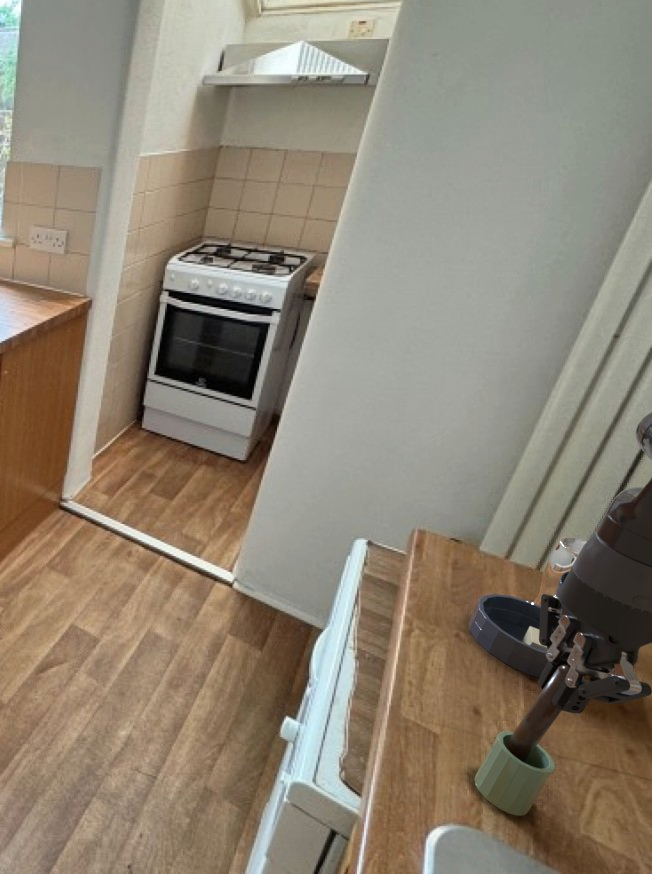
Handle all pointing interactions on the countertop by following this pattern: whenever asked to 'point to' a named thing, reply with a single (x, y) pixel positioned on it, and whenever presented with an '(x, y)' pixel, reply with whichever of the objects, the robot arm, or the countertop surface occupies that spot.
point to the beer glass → (559, 566)
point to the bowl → (508, 631)
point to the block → (533, 639)
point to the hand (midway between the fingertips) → (556, 698)
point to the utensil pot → (513, 776)
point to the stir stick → (537, 718)
